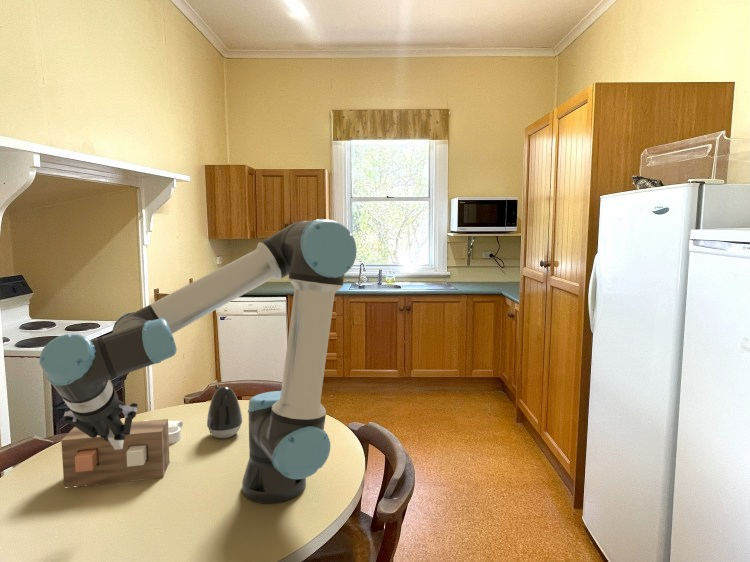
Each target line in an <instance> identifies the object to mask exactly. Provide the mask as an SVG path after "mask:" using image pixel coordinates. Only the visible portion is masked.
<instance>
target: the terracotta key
mask: <svg viewBox="0 0 750 562" xmlns="http://www.w3.org/2000/svg"><path fill="white" fill-rule="evenodd" d="M98 462H99V455H98V448H96V449H85V450H81V451H80V452H79V453H78V454H77V455H76V457H75V472H82V471H91V470H93V469H94V468H95V466H96V465H97V464H98Z"/></svg>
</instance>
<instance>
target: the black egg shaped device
mask: <svg viewBox="0 0 750 562" xmlns="http://www.w3.org/2000/svg"><path fill="white" fill-rule="evenodd" d="M214 388H215V392H214V393H213V395H212V398H211V401H210V403H209V408H208V413H207V418H206V420H207V421H206V427H207V428H208V431H209V433H210V435H212V436H213V437H214V438H217V439H228V438H230V437H233V436H235V435H236V434H237V433H238V432H239V430H240V429H241V426H242V423H243V417H242V416H243V415H242V411H241V406H240V403H239V399H238V397H237V395H236V393H235V392H234V390H233V389H232V388H231V387H229V386H227V385H226V386H225V385H224V386H219V385H217V384H216V385H215V386H214Z"/></svg>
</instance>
